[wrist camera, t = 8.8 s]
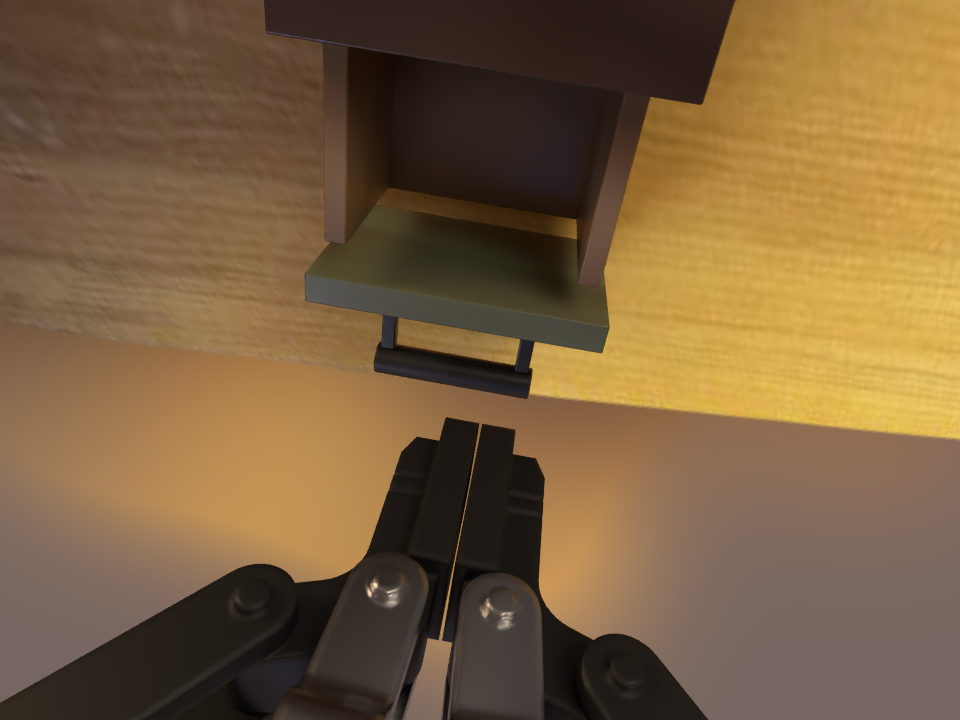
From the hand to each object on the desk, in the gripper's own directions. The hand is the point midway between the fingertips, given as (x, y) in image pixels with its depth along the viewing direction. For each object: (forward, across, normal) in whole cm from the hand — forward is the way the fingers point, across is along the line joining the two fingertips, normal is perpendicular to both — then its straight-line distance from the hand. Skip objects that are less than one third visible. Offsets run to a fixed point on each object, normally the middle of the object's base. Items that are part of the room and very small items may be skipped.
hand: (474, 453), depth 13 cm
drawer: (+18, +2, -1) cm, 18 cm away
